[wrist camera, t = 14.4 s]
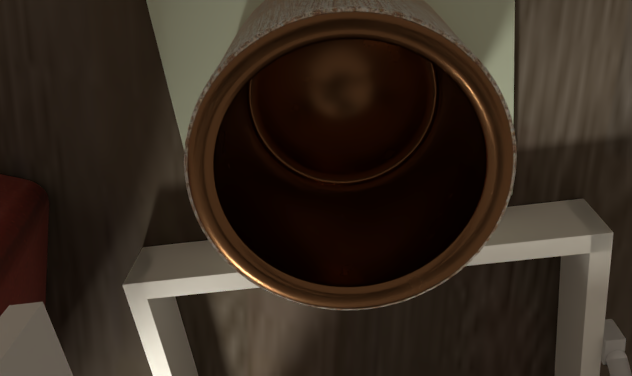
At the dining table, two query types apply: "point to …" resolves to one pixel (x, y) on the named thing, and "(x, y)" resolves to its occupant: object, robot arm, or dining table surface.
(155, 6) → the mat
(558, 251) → the case
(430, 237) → the planter
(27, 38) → the dining table surface
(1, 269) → the plant pot
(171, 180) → the dining table surface
